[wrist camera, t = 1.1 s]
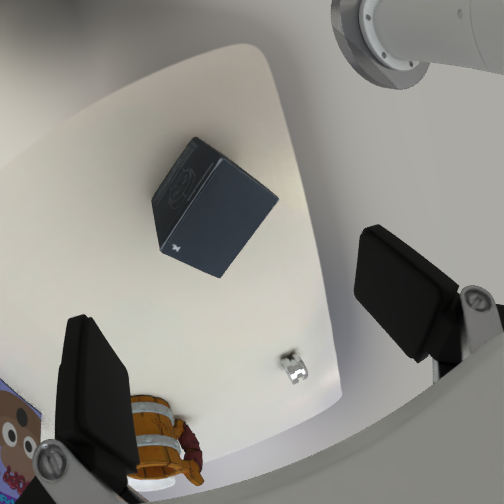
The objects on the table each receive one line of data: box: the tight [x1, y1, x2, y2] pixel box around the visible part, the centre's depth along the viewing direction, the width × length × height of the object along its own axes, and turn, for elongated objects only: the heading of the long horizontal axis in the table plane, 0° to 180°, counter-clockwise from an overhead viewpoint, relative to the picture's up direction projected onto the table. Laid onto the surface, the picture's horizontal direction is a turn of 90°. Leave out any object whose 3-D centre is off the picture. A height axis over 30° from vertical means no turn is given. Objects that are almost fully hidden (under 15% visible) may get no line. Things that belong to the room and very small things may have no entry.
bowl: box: [127, 476, 175, 491], centre depth 52 cm, size 14×14×8 cm
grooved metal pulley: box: [281, 354, 308, 385], centre depth 48 cm, size 5×3×5 cm, turn 14°
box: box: [151, 137, 279, 278], centre depth 25 cm, size 8×6×11 cm
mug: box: [127, 395, 204, 486], centre depth 40 cm, size 11×16×15 cm, turn 46°
